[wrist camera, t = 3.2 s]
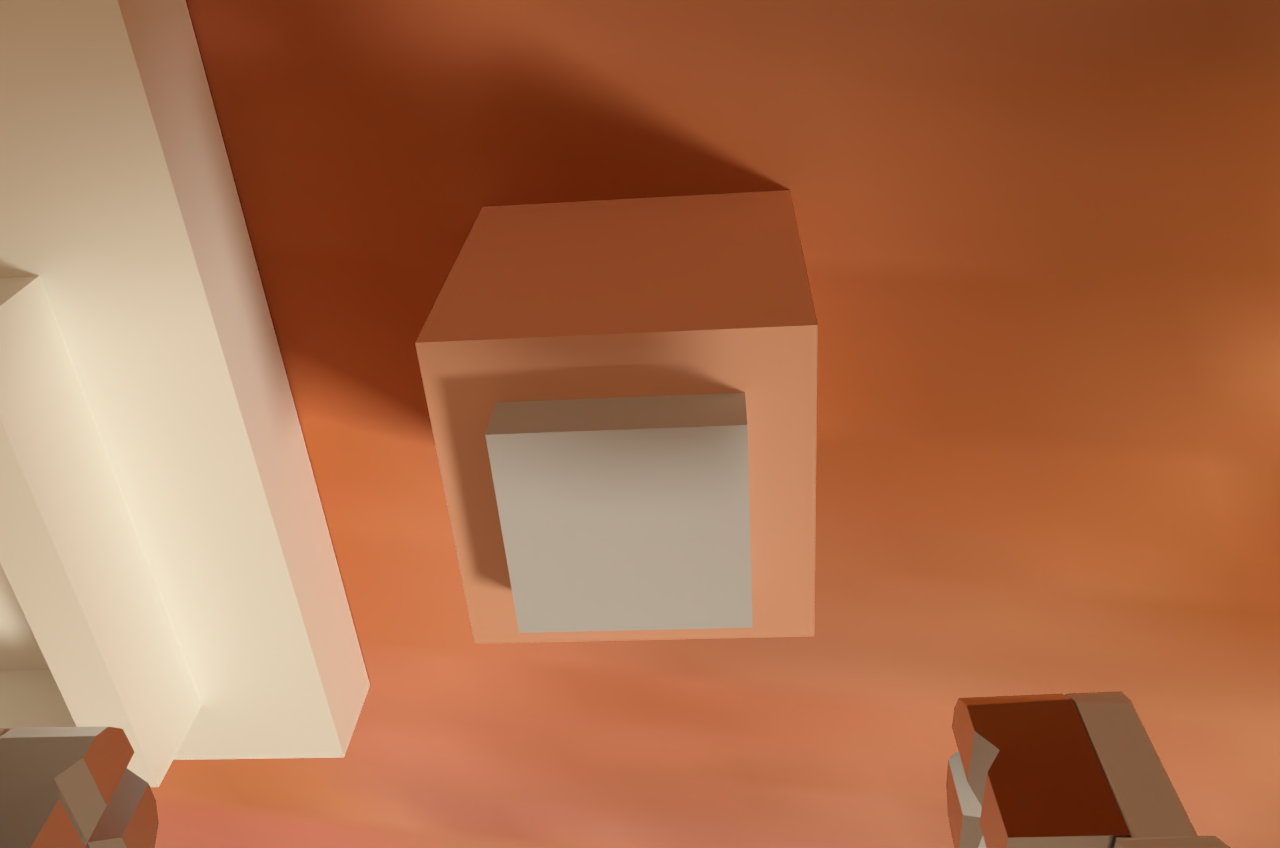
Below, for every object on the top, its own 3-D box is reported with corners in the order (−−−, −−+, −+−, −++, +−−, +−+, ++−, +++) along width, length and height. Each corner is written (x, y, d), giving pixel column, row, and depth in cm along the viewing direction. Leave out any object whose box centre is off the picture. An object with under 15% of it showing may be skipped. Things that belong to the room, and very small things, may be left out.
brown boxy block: (789, 188, 18) (823, 355, 13) (790, 451, 20) (819, 675, 15) (483, 205, 18) (399, 373, 13) (522, 460, 21) (464, 681, 16)
